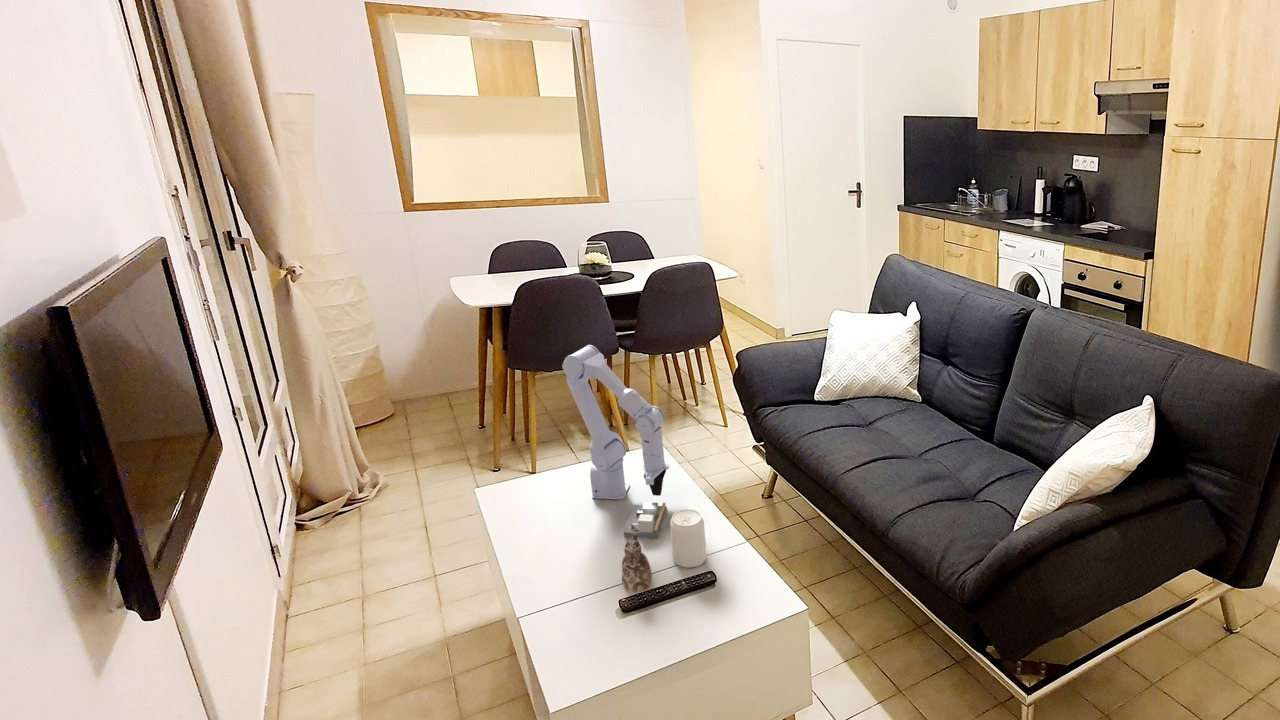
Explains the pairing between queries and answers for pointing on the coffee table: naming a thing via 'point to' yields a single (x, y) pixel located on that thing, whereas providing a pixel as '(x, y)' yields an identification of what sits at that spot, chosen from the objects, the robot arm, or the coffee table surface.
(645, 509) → the sliding leg
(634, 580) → the figurine
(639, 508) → the board
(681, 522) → the beverage can
